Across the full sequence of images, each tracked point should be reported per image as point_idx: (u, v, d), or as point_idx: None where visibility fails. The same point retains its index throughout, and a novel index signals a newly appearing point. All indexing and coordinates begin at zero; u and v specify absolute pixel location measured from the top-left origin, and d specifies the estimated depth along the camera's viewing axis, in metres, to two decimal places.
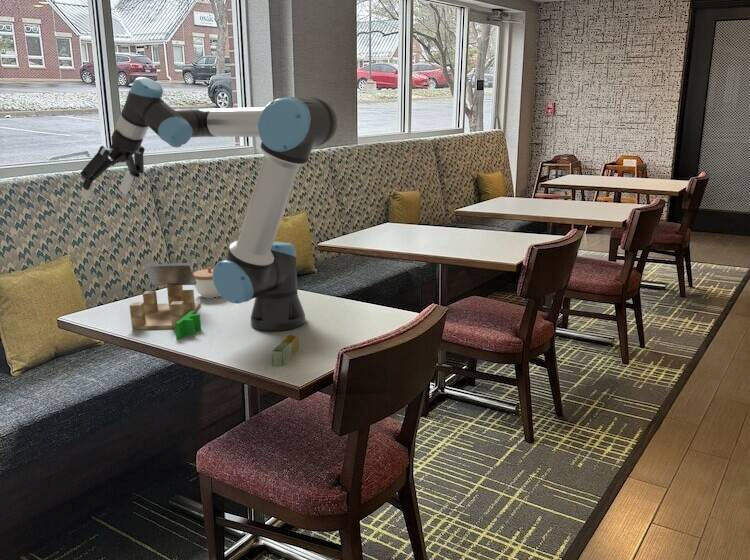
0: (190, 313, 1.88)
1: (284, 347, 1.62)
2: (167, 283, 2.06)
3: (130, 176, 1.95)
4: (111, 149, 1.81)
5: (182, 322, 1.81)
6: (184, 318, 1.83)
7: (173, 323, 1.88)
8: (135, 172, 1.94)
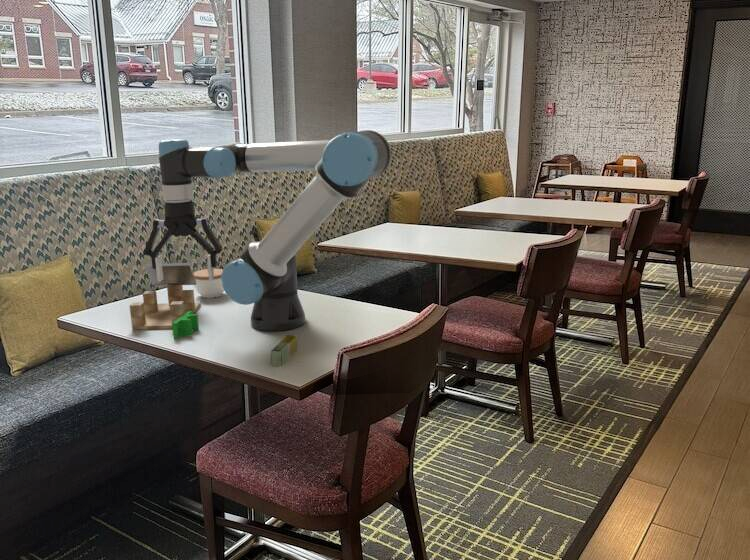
0: (188, 313, 1.88)
1: (283, 347, 1.62)
2: (167, 283, 2.06)
3: None
4: (164, 220, 1.78)
5: (179, 322, 1.82)
6: (181, 318, 1.83)
7: None
8: (209, 250, 1.79)
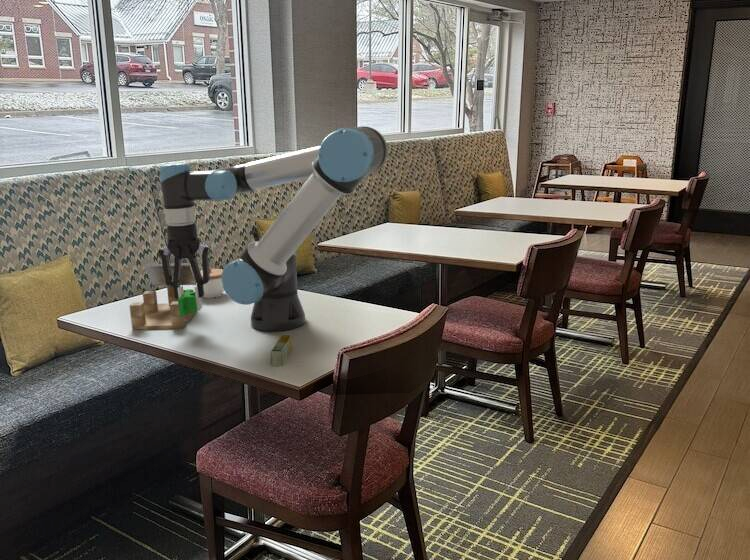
0: (188, 291, 1.86)
1: (282, 347, 1.62)
2: None
3: (195, 287, 1.81)
4: (167, 246, 1.79)
5: (184, 299, 1.80)
6: (184, 295, 1.81)
7: (173, 323, 1.88)
8: (197, 280, 1.80)
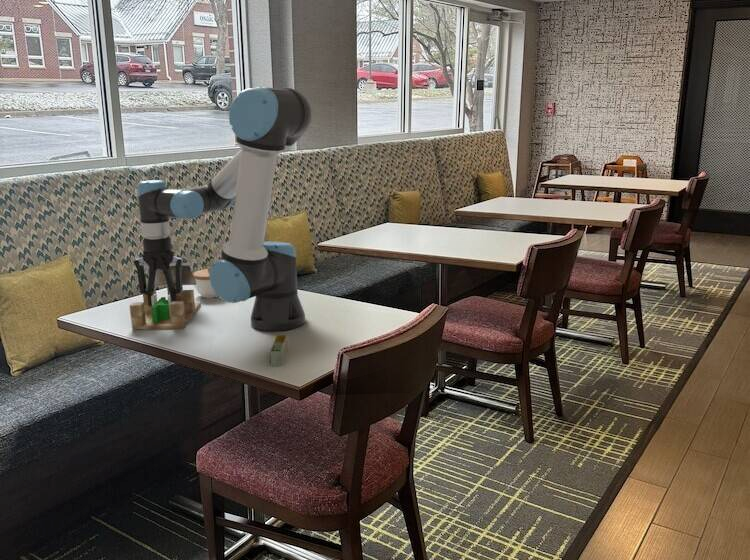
0: (162, 299, 1.98)
1: (280, 347, 1.62)
2: None
3: None
4: (142, 257, 1.91)
5: (157, 307, 1.92)
6: (158, 303, 1.93)
7: (173, 323, 1.88)
8: (170, 290, 1.92)
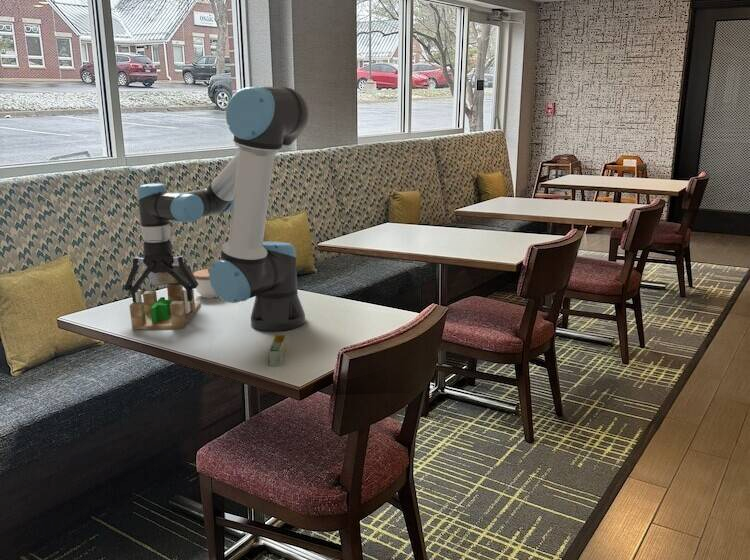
0: (161, 299, 1.98)
1: (279, 347, 1.62)
2: (167, 283, 2.06)
3: (184, 292, 1.93)
4: (143, 258, 1.91)
5: (156, 307, 1.92)
6: (157, 303, 1.93)
7: (173, 323, 1.88)
8: (185, 286, 1.92)
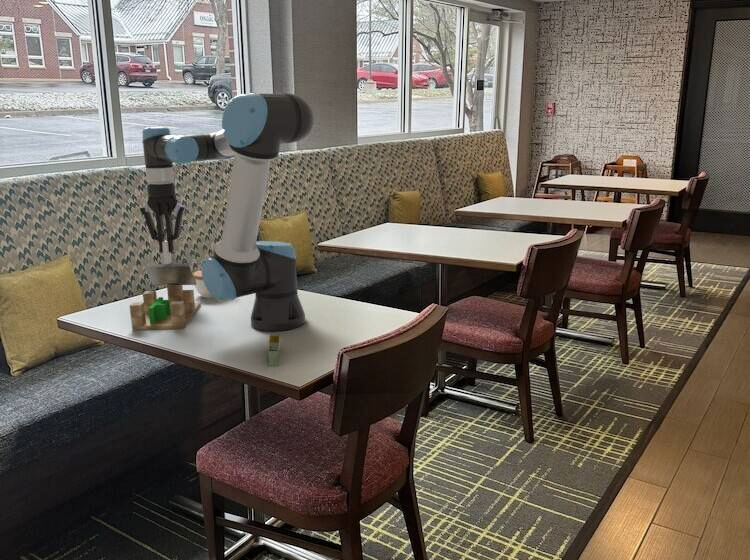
0: (159, 299, 1.98)
1: (276, 347, 1.62)
2: (167, 283, 2.06)
3: None
4: None
5: (154, 307, 1.92)
6: (155, 303, 1.93)
7: (173, 323, 1.88)
8: (168, 236, 1.98)
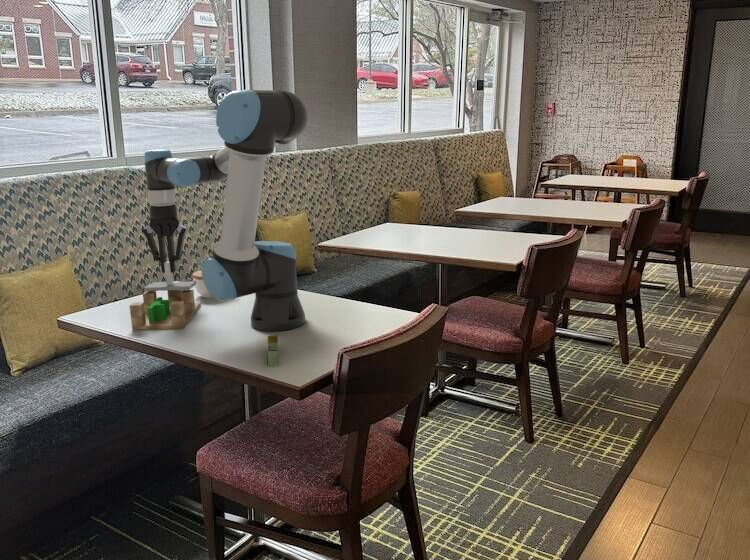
0: (159, 299, 1.98)
1: (276, 347, 1.62)
2: None
3: None
4: None
5: (154, 307, 1.92)
6: (155, 303, 1.93)
7: (173, 323, 1.88)
8: (170, 256, 1.99)
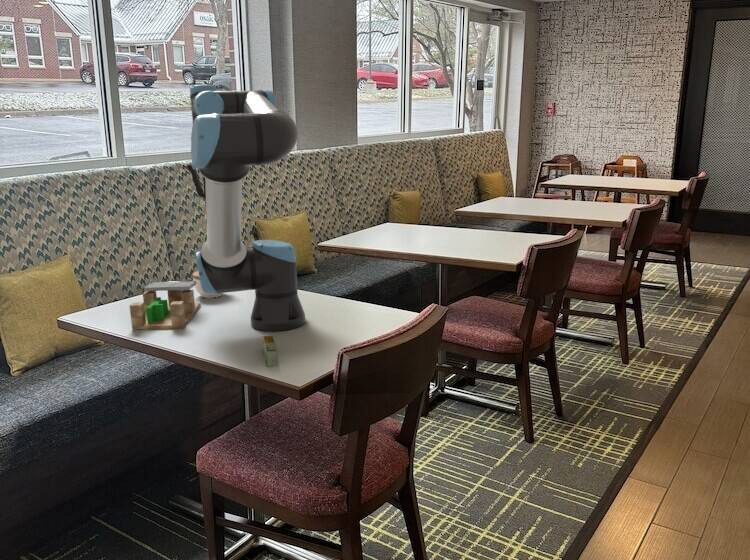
0: (157, 299, 1.98)
1: (274, 347, 1.62)
2: None
3: None
4: None
5: (152, 307, 1.92)
6: (153, 303, 1.93)
7: (173, 323, 1.88)
8: None
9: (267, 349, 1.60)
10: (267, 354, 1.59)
